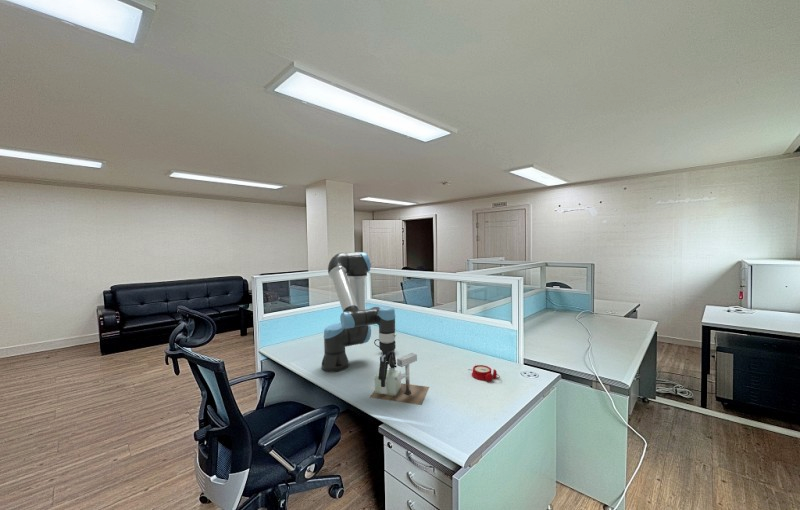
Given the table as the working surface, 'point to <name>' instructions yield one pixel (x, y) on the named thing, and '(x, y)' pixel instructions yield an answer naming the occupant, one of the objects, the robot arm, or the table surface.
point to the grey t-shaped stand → (406, 368)
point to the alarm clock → (483, 373)
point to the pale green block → (389, 383)
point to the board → (406, 394)
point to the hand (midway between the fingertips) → (388, 386)
